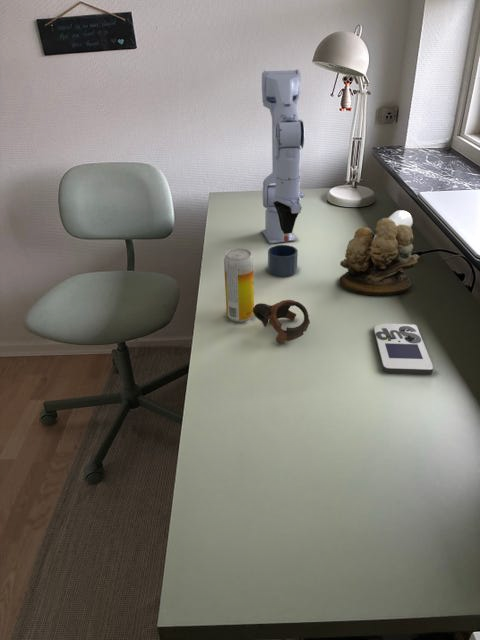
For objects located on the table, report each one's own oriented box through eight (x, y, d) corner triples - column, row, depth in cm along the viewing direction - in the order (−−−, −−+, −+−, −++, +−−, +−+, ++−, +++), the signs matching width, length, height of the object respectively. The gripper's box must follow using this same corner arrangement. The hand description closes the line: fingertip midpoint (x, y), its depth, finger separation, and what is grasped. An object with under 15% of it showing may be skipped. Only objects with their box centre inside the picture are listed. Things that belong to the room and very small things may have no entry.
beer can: (258, 311, 109) (257, 250, 101) (247, 325, 104) (245, 262, 96) (233, 306, 111) (231, 245, 103) (222, 319, 106) (218, 257, 98)
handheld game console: (383, 373, 89) (384, 367, 89) (372, 328, 102) (372, 322, 101) (433, 374, 89) (434, 368, 88) (415, 329, 101) (416, 323, 100)
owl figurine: (408, 273, 122) (419, 207, 113) (420, 296, 112) (434, 226, 103) (336, 273, 123) (341, 208, 114) (342, 296, 113) (349, 227, 104)
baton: (283, 239, 122) (284, 209, 118) (288, 239, 122) (289, 208, 118) (284, 241, 121) (285, 210, 117) (289, 241, 121) (290, 210, 117)
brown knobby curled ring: (307, 320, 106) (316, 301, 99) (297, 358, 101) (306, 341, 94) (254, 304, 106) (260, 284, 99) (243, 341, 102) (247, 323, 95)
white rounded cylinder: (381, 257, 135) (400, 235, 145) (399, 244, 130) (418, 223, 140) (365, 238, 135) (385, 218, 145) (383, 225, 130) (402, 205, 140)
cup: (265, 265, 128) (265, 246, 125) (292, 262, 129) (292, 243, 126) (272, 278, 122) (272, 258, 119) (300, 275, 123) (301, 255, 120)
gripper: (314, 184, 108) (311, 241, 115) (295, 167, 120) (293, 219, 127) (284, 187, 107) (282, 244, 114) (267, 169, 119) (267, 222, 126)
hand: (286, 231), depth 120 cm, fingers closed on baton, 1 cm apart
